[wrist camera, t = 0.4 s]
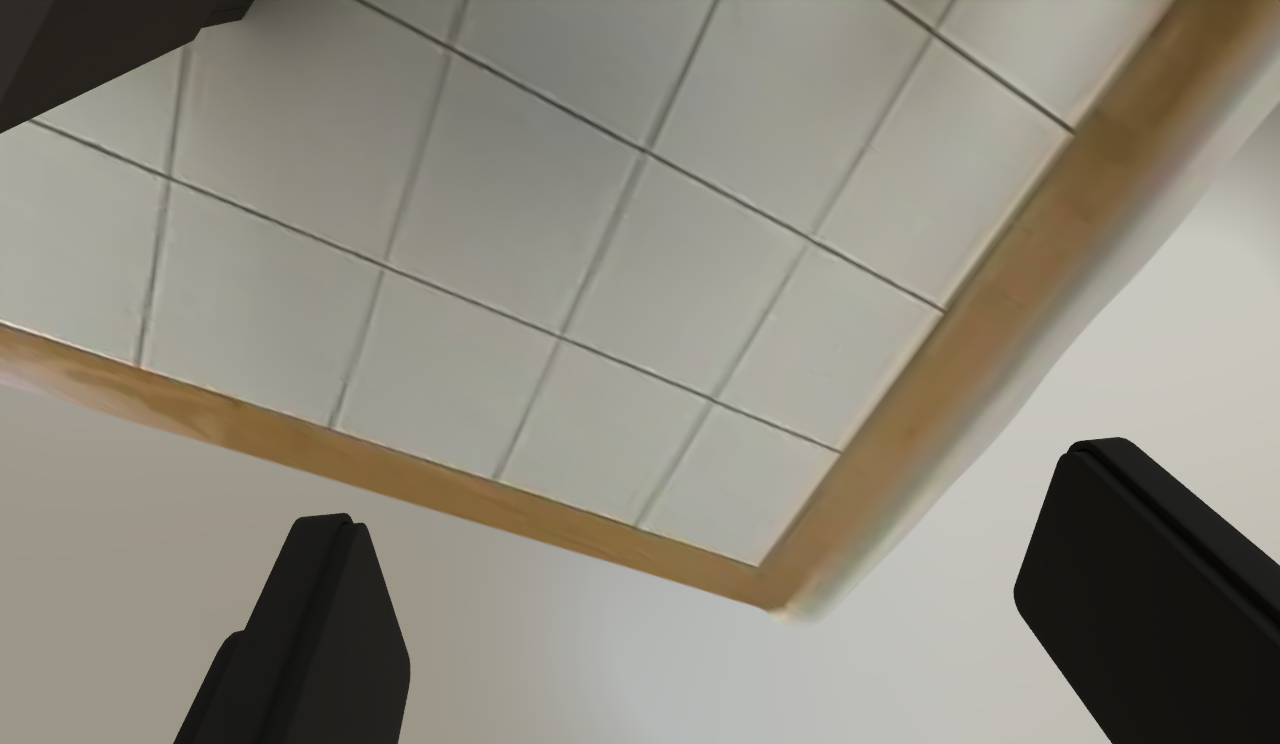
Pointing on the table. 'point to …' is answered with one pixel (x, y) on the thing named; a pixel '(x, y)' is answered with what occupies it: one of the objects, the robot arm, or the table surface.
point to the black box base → (227, 12)
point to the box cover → (83, 46)
